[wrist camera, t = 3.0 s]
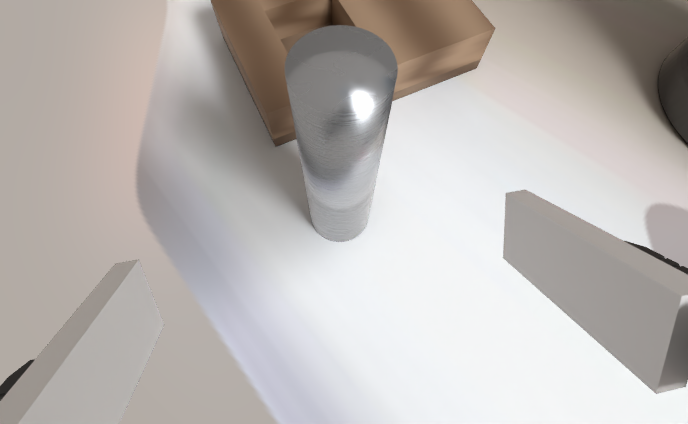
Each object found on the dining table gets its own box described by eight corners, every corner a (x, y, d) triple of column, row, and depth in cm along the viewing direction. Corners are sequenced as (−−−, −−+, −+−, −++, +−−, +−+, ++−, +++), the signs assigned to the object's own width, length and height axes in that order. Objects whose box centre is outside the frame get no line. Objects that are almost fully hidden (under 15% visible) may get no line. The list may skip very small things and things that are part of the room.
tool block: (406, -22, 35) (414, -68, 32) (476, 68, 31) (495, 28, 28) (223, 38, 32) (208, -5, 29) (275, 146, 28) (266, 113, 24)
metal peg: (352, 180, 27) (366, 12, 14) (378, 227, 26) (418, 88, 13) (301, 201, 27) (267, 45, 14) (325, 251, 25) (312, 130, 12)
